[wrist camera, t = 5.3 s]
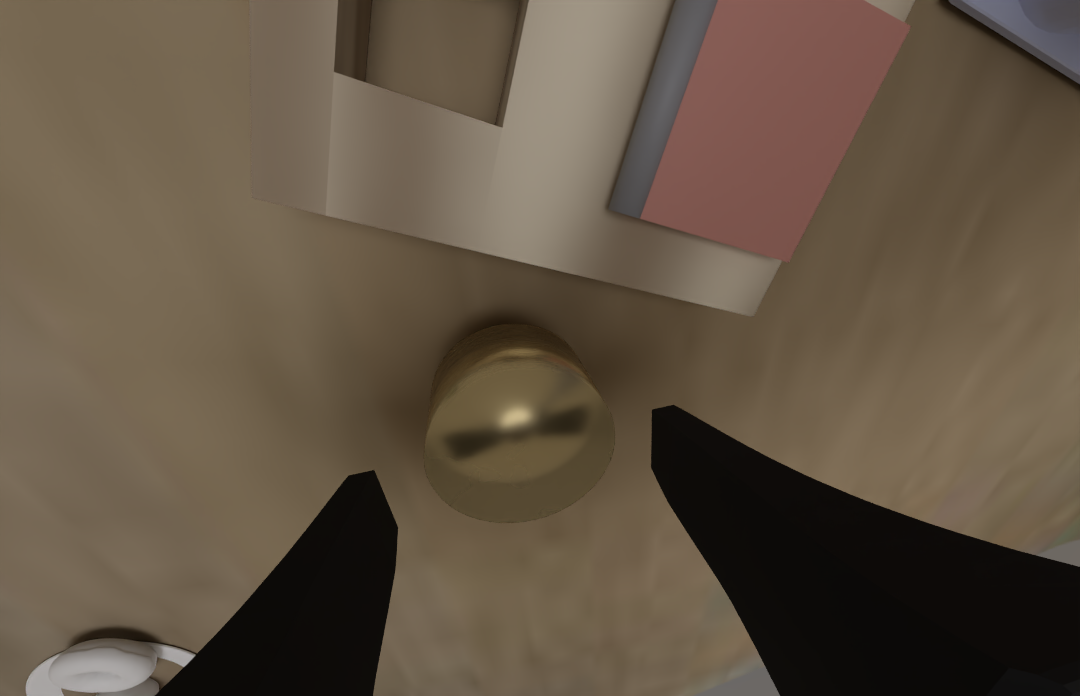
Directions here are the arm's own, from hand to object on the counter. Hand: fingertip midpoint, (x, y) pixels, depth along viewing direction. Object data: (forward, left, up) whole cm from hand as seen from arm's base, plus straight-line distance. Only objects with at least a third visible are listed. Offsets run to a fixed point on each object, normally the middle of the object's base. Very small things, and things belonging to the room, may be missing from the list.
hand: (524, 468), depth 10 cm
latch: (-4, -10, -3) cm, 11 cm away
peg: (0, 0, -6) cm, 6 cm away
